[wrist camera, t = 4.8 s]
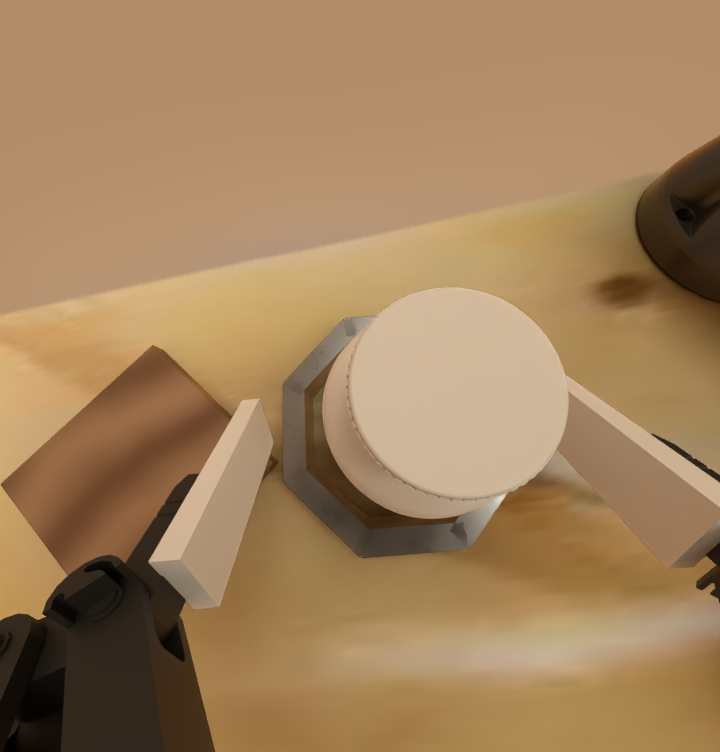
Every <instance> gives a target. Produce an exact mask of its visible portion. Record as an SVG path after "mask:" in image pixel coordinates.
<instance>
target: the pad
mask: <svg viewBox="0 0 720 752" xmlns="http://www.w3.org/2000/svg"><path fill="white" fill-rule="evenodd" d="M231 419H232V416H231V415H230V414H229V413H228V412H227V411H226V410H225V409H224V408H223V407H221V406H220V405H219V404H218V403H217V402H216V401H215V400H214V399H213V398H212V397H211V396H210V395H209V394H208V393H207V392H206V391H205V390H204V389H203V388H202V387H201V386H200V385H199V384H198V383H197V382H196V381H195V380H194V379H193V378H192V377H191V376H190V375H189V374H188V373H186V372H185V371H184V370H183V369H182V368H181V367H180V366H179V365H178V364H177V363H176V362H175V361H174V360H173V359H172V358H171V357H170V356H169V355H168V354H167V353H166V352H165V351H164V350H162V349H160V348H158V347H155V346H153V345H152V346H151V347H150V348H149V349H148V350H147V351H146V352H145V353H144V354H143V355H142V356H140V357H139V358H138V359H137V360H136V361H135V362H134V363H133V364H132V365H131V366H129V367H128V368H127V369H126V370H125V371H124V372H123V373H122V374H121V375H120V376H119V377H117V378H116V379H115V380H114V381H113V382H112V383H111V384H110V385H109V386H108V387H106V388H105V389H104V390H103V391H102V392H101V393H100V394H99V395H98V396H97V397H96V398H94V399H93V400H92V401H91V402H90V403H89V404H88V405H87V406H86V407H85V408H83V409H82V410H81V411H80V412H79V413H78V414H77V415H76V416H75V417H74V418H73V419H71V420H70V421H69V422H68V423H67V424H66V425H65V426H64V427H63V428H62V429H60V430H59V431H58V432H57V433H56V434H55V435H54V436H53V437H52V438H51V439H50V440H48V441H47V442H46V443H45V444H44V445H43V446H42V447H41V448H40V449H39V450H38V451H36V452H35V453H34V454H33V455H32V456H31V457H30V458H29V459H28V460H27V461H25V462H24V463H23V464H22V465H21V466H20V467H19V468H18V469H17V470H16V471H15V472H13V473H12V474H11V475H10V476H9V477H8V478H7V479H6V480H5V481H4V482H2V483H1V484H0V485H1V486H2V487H3V489H4V490H5V491H6V493H7V494H8V496H9V497H10V498H11V500H12V501H13V502H14V504H15V505H16V506H17V508H18V509H19V510H20V512H21V513H22V514H23V516H24V517H25V518H26V520H27V521H28V523H29V524H30V525H31V527H32V528H33V529H34V531H35V532H36V533H37V535H38V536H39V537H40V539H41V540H42V541H43V543H44V544H45V546H46V547H47V548H48V550H49V551H50V552H51V554H52V555H53V556H54V558H55V559H56V560H57V562H58V563H59V564H60V566H61V567H62V568H63V570H64V571H65V573H66V574H67V575H69V574H70V573H72V572H73V571H75V570H76V569H77V568H79V567H80V566H82V565H83V564H84V563H86V562H88V561H90V560H93V559H95V558H97V557H100V556H105V555H113V556H117V557H118V558H120V559H121V560H122V561H123V562H124V563H126V561H127V560H128V558H129V556H130V555H131V553H132V552H133V550H134V549H135V547H136V546H137V544H138V543H139V541H140V540H141V538H142V536H143V535H144V533H145V532H146V530H147V529H148V527H149V526H150V524H151V523H152V521H153V519H154V518H155V517H157V513H158V512H159V510H160V509H161V507H162V506H163V505H165V501H166V499H167V498H168V496H169V495H170V493H171V492H172V490H173V489H174V487H175V486H176V485H177V484H178V483H180V482H181V481H182V480H183V479H184V478H185V477H186V476H187V475H188V474H199V473H200V472H201V471H202V469H203V467H204V465H205V464H206V462H207V460H208V459H209V457H210V455H211V453H212V452H213V450H214V448H215V447H216V445H217V443H218V441H219V440H220V438H221V436H222V435H223V433H224V431H225V429H226V428H227V426H228V424H229V423H230V421H231ZM277 463H278V461H277V460H276V459H275V458H274V457H273V456H272V455H271V454H270V456H269V459H268V462H267V465H266V468H265V471H264V474H263V477H262V480H263V478H264V477H265V476H266V475H267V474H268V473H269V472H270V471H271V469H272V468H273V467H274V466H275V465H276V464H277ZM262 480H261V481H262Z"/></svg>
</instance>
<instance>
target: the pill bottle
mask: <svg viewBox="0 0 720 752" xmlns="http://www.w3.org/2000/svg"><path fill="white" fill-rule="evenodd" d="M568 407H569V397H568V386H567V381H566V376H565V373H564V369H563V366H562V364H561V361H560V359H559V356H558V354H557V352H556V350H555V349H554V347H553V345H552V344H551V342H550V341H549V339H548V338H547V336H546V335H545V334H544V332H543V331H542V330H541V329H540V328H539V327H538V325H537V324H536V323H535V322H534V321H533V320H531V319H530V318H529V317H528V316H527V315H526V314H524V313H523V312H522V311H521V310H519V309H518V308H516V307H515V306H513V305H512V304H510V303H508V302H506V301H504V300H502V299H500V298H498V297H496V296H493V295H491V294H488V293H485V292H482V291H478V290H473V289H468V288H460V287H440V288H432V289H427V290H421V291H419V292H414V293H411V294H410V295H408V296H407V295H406V296H404V297H402V298H401V299H399V300H396V301H394V302H393V303H392V304H391V305H388V306H386V307H385V309H384V310H383V311H382V310H381V311H380V312H379V313H378V314H377V316H376V317H374V318H373V319H372V320H371V321H370V324H367V325H366V327H365V328H364V329H363V330H362V331H361V332H359V333H358V334H357V335H356V336H355V337H354V338H353V339H352V340H351V341H350V342H349V343H348V344H347V345H346V346H345V348H344V349H343V350H342V351H341V353H340V354H339V356H338V357H337V359H336V361H335V362H334V364H333V366H332V368H331V371H330V373H329V376H328V378H327V382H326V385H325V390H324V396H323V424H324V430H325V435H326V438H327V442H328V445H329V447H330V450H331V452H332V454H333V457H334V459H335V460H336V462H337V464H338V466H339V467H340V469H341V470H342V472H343V473H344V474H345V476H346V477H347V478H348V479H349V481H350V482H351V483H352V484H353V485H354V486H355V487H356V488H357V489H358V490H359V491H360V492H362V493H363V494H364V495H365V496H367V497H368V498H369V499H371V500H372V501H374V502H375V503H377V504H379V505H381V506H382V507H384V508H386V509H389V510H391V511H394V512H396V513H399V514H402V515H406V516H410V517H416V518H425V519H439V518H448V517H454V516H458V515H462V514H466V513H469V512H471V511H474V510H476V509H478V508H480V507H482V506H484V505H486V504H487V503H489V502H491V501H492V500H493V499H495V498H496V497H497V496H503V495H506V494H507V492H509V491H511V492H513V491H515V490H517V489H518V487H519V486H523V485H525V484H526V483H528V480H530V479H533V478H534V477H535V476H536V475H537V473H538V472H539V471H541V470H542V469H543V468H544V467H545V465H546V464H547V463H548V462H549V461H550V459H551V458H552V456H553V454H554V453H555V451H556V450H557V447H558V445H559V443H560V441H561V439H562V436H563V433H564V430H565V426H566V422H567V417H568Z"/></svg>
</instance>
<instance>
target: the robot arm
mask: <svg viewBox="0 0 720 752" xmlns="http://www.w3.org/2000/svg"><path fill="white" fill-rule="evenodd" d="M637 219H638V227H639V232H640V235H641V238H642V240H643V242H644V244H645V246H646V248H647V250H648V251H649V253H650V254H651V256H652V257H653V258H654V260H655V261H656V262H657V263H658V264H659V265H660V267H661V268H662V269H663V270H664V271H666V272H667V273H668V274H669V275H670V276H671V277H673V278H674V279H675V280H676V281H678V282H679V283H681V284H682V285H684V286H685V287H687V288H689V289H690V290H692V291H694V292H696V293H698V294H700V295H702V296H705V297H707V298H710V299H713V300H716V301H719V302H720V136H718V137H716V138H714V139H713V140H711V141H710V142H708V143H706V144H705V145H703V146H701V147H699V148H698V149H696V150H695V151H693V152H691V153H689V154H688V155H686V156H685V157H683V158H682V159H680V160H679V161H678V162H677V163H675V164H674V165H673V166H672V167H670V168H669V169H668V170H667V171H666V172H665V173H664V174H663V175H662V176H661V177H659V178H658V179H657V180H656V181H655V182H654V183H653V184H652V185H651V186H650V187H649V188H648V189H647V190H646V191H645V193H644V194H643V196H642V198H641V201H640V203H639V207H638V215H637ZM565 376H566V381H567V386H568V397H569V407H568V417H567V422H566V426H565V430H564V433H563V436H562V439H561V441H560V443H559V445H558V447H557V450H558V451H559V452H560V453H561V454H562V455H563V457H564V458H565V459H566V460H567V461H568V462H569V463H570V464H571V465H572V466H573V467H574V468H575V470H576V471H577V472H578V473H579V474H580V475H581V476H582V477H583V478H584V479H585V480H586V481H587V483H588V484H589V485H590V486H591V487H592V488H593V489H594V490H595V491H596V492H597V493H598V495H599V496H600V497H601V498H602V499H603V500H604V501H605V502H606V503H607V504H608V505H609V506H610V508H611V509H612V510H613V511H614V512H615V513H616V514H617V515H618V516H619V517H620V518H621V519H622V521H623V522H624V523H625V524H626V525H627V526H628V527H629V528H630V529H631V530H632V531H633V532H634V534H635V535H636V536H637V537H638V538H639V539H640V540H641V541H642V542H643V543H644V544H645V545H646V547H647V548H648V549H649V550H650V551H651V552H652V553H653V554H654V555H655V556H656V557H657V559H658V560H659V561H660V562H661V563H662V564H663V565H664V566H665V567H666V568H667V569H673V568H684V567H694V566H695V565H696V564H697V563H698V562H699V561H700V560H702V559H703V558H704V557H705V556H707V557H709V558H710V559H711V560H712V561H713V562H714V563H715V564H716V566H715V567H714V568H713V569H711V570H710V571H709V572H708V573H706V574H705V575H704V576H703V577H701V578H700V579H699V580H698V581H697V584H696V588H698V589H700V590H703V589H705V588H706V587H707V586H709V585H710V584H711V583H714V585H715V589H714V590H713V591H712V592H711V593H710V595H712V596H715V597H717V598H718V599H719V602H720V475H719V474H717V473H716V472H714V471H713V470H711V469H708V468H707V466H706V465H704V464H703V463H701V462H700V461H698V460H697V459H693V458H692V456H691V455H689V454H688V453H686V452H685V451H684V450H682V449H681V448H679V447H678V446H676V445H675V444H673V443H671V442H669V441H667V440H665V439H662V438H660V437H658V436H656V435H654V434H649V433H648V432H647V431H645V430H644V429H642V428H641V427H640V426H638V425H637V424H635V423H634V422H632V421H631V420H630V419H628V418H627V417H625V416H624V415H622V414H621V413H620V412H618V411H617V410H615V409H614V408H612V407H611V406H610V405H608V404H607V403H605V402H604V401H602V400H601V399H600V398H598V397H597V396H595V395H594V394H592V393H591V392H590V391H588V390H587V389H585V388H584V387H582V386H581V385H580V384H578V383H577V382H575V381H574V380H572V379H571V378H570V377H568V376H567V375H565ZM273 444H274V442H273V439H272V436H271V433H270V430H269V427H268V424H267V420H266V417H265V414H264V411H263V408H262V405H261V402H260V399H249V400H242V402H241V404H240V405H239V407H238V409H237V411H236V412H235V414H234V416H233V417H232V419H231V421H230V423H229V424H228V426H227V428H226V429H225V431H224V433H223V435H222V436H221V438H220V440H219V441H218V443H217V445H216V447H215V448H214V450H213V452H212V453H211V455H210V457H209V459H208V460H207V462H206V464H205V465H204V467H203V469H202V471H201V472H200V473H199V474H188V475H187V476H186V477H185V478H184V479H183V480H182V481H181V482H180V483H178V484H177V485H176V486H175V487H174V489H173V490H172V492H171V493H170V495H169V496H168V498H167V499H166V501H165V505H163V506H162V507H161V509H160V510H159V512H158V513H157V517H155V518H154V519H153V521H152V523H151V524H150V526H149V527H148V529H147V530H146V532H145V533H144V535H143V536H142V538H141V540H140V541H139V543H138V544H137V546H136V547H135V549H134V550H133V552H132V553H131V555H130V556H129V558H128V560H127V561H126V563H124V562H123V561H122V560H121V559H120V558H118V557H117V556H113V555H105V556H100V557H97V558H95V559H93V560H90V561H88V562H86V563H84V564H83V565H82V566H80V567H79V568H77V569H76V570H75V571H73V572H72V573H70V574H69V575H68V576H67V577H66V578H65V579H64V580H63V581H62V582H61V583H60V584H59V585H58V586H57V587H56V589H55V590H54V592H53V593H52V594H51V596H50V597H49V599H48V600H47V602H46V605H45V608H44V610H43V613H42V614H43V615H45V616H47V617H45V618H42V619H40V620H37V619H35V618H33V617H31V616H29V615H28V614H16V615H13V616H10V617H7V618H4V619H2V620H1V621H0V752H215V749H214V745H213V741H212V737H211V733H210V729H209V725H208V721H207V717H206V713H205V709H204V705H203V701H202V697H201V693H200V689H199V685H198V681H197V677H196V673H195V669H194V665H193V661H192V657H191V653H190V649H189V645H188V641H187V637H186V633H185V629H184V625H183V621H182V619H181V617H180V616H179V615H180V613H181V610H182V608H183V606H184V603H185V601H186V602H187V603H188V604H189V605H190V606H191V607H192V608H193V609H204V608H216V607H220V604H221V601H222V598H223V595H224V592H225V589H226V586H227V583H228V580H229V577H230V574H231V571H232V568H233V565H234V562H235V559H236V556H237V553H238V550H239V547H240V544H241V541H242V538H243V535H244V532H245V529H246V526H247V522H248V519H249V516H250V513H251V510H252V507H253V504H254V501H255V498H256V495H257V492H258V489H259V486H260V483H261V480H262V477H263V474H264V471H265V468H266V465H267V462H268V459H269V456H270V453H271V450H272V447H273Z"/></svg>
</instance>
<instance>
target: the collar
mask: <svg viewBox="0 0 720 752" xmlns="http://www.w3.org/2000/svg"><path fill="white" fill-rule="evenodd" d="M374 317H376V316H365V317H352V318H345V320H344V319H343V320H342V321H341V322H340V323H339V324H338V325H337V326H336V327H335V328H334V330H333V331H332V332H331V333H330V334H329V335H328V336H327V337H326V338H325V339H324V340H323V341H322V342H321V343H320V344H319V345H318V347H317V348H316V349H315V350H314V351H313V352H312V353H311V354H310V355H309V356H308V357H307V358H306V359H305V360H304V361H303V362H302V364H301V365H300V366H299V367H298V368H297V369H296V370H295V371H294V372H293V373H292V374H291V375H290V376H289V377H288V378H287V379H286V380H285V382H284V383H285V384H283V481H285V482H284V483H285V484H286V485H287V486H288V487H289V488H290V489H291V490H292V491H293V492H294V493H295V494H296V495H297V496H298V497H299V498H300V499H301V500H302V501H303V502H304V503H305V504H306V505H307V506H308V507H309V508H310V509H311V510H312V511H313V512H314V513H315V514H316V515H317V516H318V517H319V518H320V519H321V520H322V521H323V522H324V523H325V524H326V525H327V526H328V527H329V528H330V529H331V530H332V531H333V532H335V533H336V534H337V535H338V536H339V537H340V538H341V539H342V540H343V541H344V542H345V543H346V544H347V545H348V546H349V547H350V548H351V549H352V550H353V551H354V552H355V553H356V554H357V555H358V556H359V557H360V556H362V558H369V557H382V556H395V555H407V554H420V553H433V552H446V551H458V550H468V547H469V548H471V546H472V545H473V543H474V542H475V540H476V539H477V537H478V536H479V534H480V533H481V531H482V530H483V528H484V527H485V525H486V524H487V523H488V521H489V520H490V518H491V517H492V515H493V514H494V512H495V511H496V509H497V508H498V506H499V505H500V503H501V502H502V500H503V499H504V497H505V496H506V495H507V494H506V495H503V496H497V497H496V498H495V499H493V500H492V501H491V502H489V503H487V504H486V505H484V506H482V507H480V508H478V509H476V510H474V511H471V512H469V513H466V514H462V515H458V516H454V517H448V518H439V519H425V518H416V517H410V516H406V515H402V514H393V515H380V516H367V515H366V514H365V513H364V512H363V511H362V510H361V509H360V508H359V507H358V506H357V505H356V504H355V503H354V502H352V501H351V500H350V499H349V498H348V497H347V496H346V495H345V494H344V493H343V492H342V491H341V490H340V489H339V488H338V487H337V486H335V485H334V484H333V483H332V482H331V481H330V480H329V479H328V478H327V477H326V476H325V475H324V474H323V473H322V472H321V471H320V470H319V469H317V468H316V467H315V456H314V425H313V396H314V395H315V394H316V393H317V392H318V391H319V390H320V389H321V388H322V387H323V385H324V384H325V383H326V382H327V378H328V376H329V373H330V371H331V368H332V366H333V364H334V362H335V361H336V359H337V357H338V356H339V354H340V353H341V351H342V350H343V349H344V348H345V346H346V345H347V344H348V343H349V342H350V341H351V340H352V339H353V338H354V337H355V336H356V335H357V334H358V333H359V332H361V331H362V330H363V329H364V328H365V327H366V325H367V324H370V321H371V320H372V319H373V318H374ZM507 493H508V492H507ZM467 546H468V547H467Z"/></svg>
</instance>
